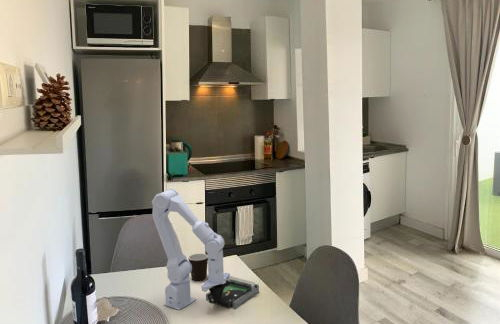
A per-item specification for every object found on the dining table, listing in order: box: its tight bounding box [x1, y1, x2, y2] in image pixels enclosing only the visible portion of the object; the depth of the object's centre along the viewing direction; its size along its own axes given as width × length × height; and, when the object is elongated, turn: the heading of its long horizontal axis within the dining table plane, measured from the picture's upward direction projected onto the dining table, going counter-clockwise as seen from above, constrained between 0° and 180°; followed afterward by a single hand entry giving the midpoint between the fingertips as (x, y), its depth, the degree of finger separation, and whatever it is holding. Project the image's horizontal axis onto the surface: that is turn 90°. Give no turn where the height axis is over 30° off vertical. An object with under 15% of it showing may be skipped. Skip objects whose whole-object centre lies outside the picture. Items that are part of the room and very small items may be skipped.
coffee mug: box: [187, 253, 208, 282], centre depth 183 cm, size 12×9×10 cm
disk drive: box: [208, 284, 250, 309], centre depth 163 cm, size 10×3×15 cm
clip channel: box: [205, 275, 260, 310], centre depth 164 cm, size 16×14×5 cm
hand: (217, 302), depth 156 cm, fingers closed
